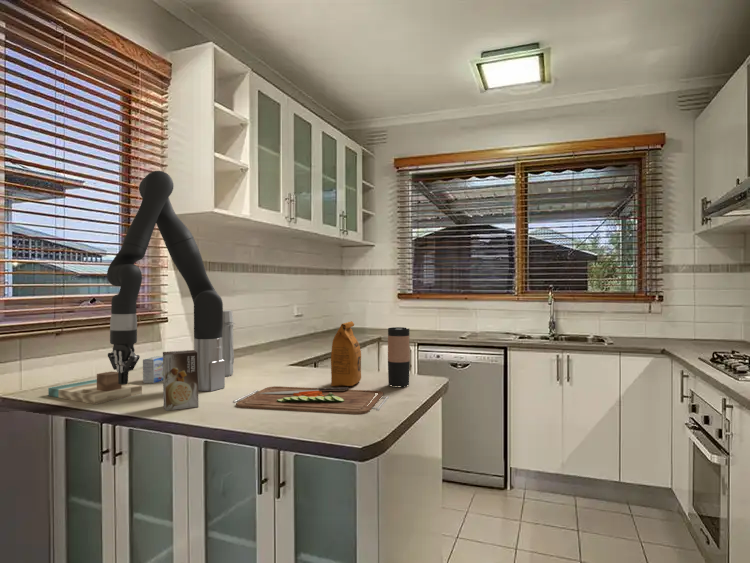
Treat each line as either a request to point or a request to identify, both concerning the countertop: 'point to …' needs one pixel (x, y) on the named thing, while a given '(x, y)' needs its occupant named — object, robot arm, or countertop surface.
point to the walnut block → (108, 381)
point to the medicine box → (153, 369)
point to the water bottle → (228, 342)
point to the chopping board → (312, 400)
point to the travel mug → (398, 356)
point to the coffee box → (180, 379)
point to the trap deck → (92, 392)
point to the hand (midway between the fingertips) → (123, 384)
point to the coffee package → (345, 357)
